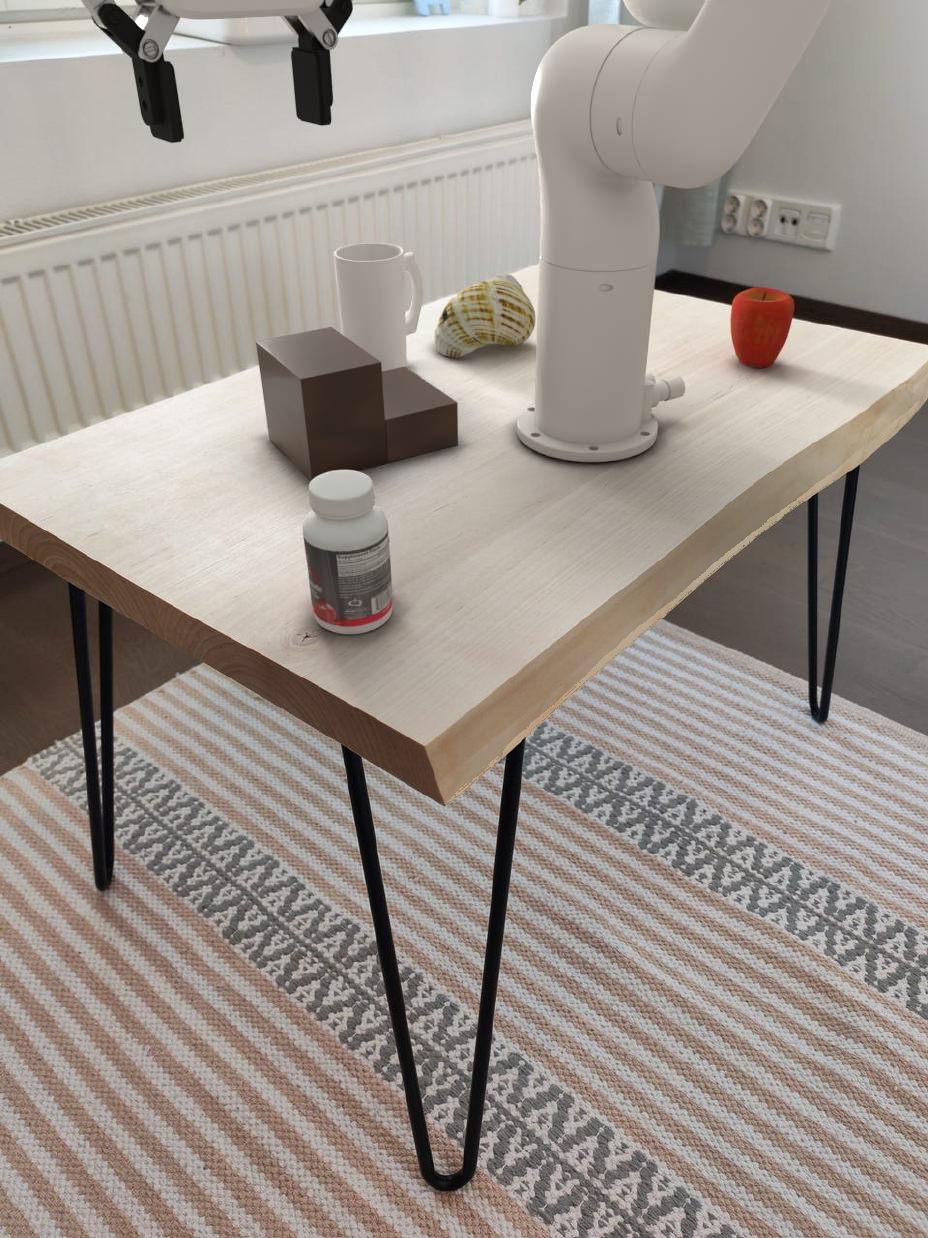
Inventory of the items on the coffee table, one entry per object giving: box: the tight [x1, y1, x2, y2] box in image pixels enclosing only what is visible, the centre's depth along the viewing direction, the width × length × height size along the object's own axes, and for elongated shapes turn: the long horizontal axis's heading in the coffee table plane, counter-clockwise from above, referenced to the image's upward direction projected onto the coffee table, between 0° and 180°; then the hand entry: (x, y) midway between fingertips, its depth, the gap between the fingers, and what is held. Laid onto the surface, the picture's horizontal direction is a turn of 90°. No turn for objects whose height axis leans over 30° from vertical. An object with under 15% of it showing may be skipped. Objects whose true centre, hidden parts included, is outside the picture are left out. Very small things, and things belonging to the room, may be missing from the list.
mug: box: [333, 242, 424, 371], centre depth 99 cm, size 10×7×12 cm, turn 134°
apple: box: [729, 286, 795, 369], centre depth 100 cm, size 6×6×8 cm
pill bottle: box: [302, 470, 394, 635], centre depth 63 cm, size 5×5×10 cm
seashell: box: [434, 273, 536, 358], centre depth 105 cm, size 10×10×10 cm
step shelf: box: [255, 326, 459, 482], centre depth 85 cm, size 14×10×9 cm
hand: (244, 130), depth 58 cm, fingers open, 9 cm apart
